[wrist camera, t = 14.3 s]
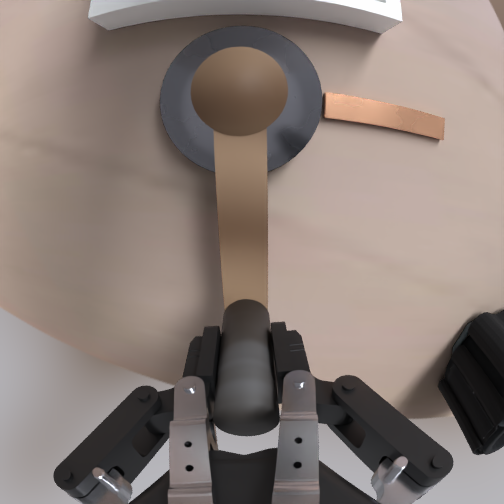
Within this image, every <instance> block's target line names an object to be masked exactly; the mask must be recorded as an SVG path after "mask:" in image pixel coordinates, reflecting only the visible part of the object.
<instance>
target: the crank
mask: <svg viewBox="0 0 504 504" xmlns="http://www.w3.org/2000/svg"><path fill="white" fill-rule="evenodd" d="M287 97H288V84H287V79H286V76H285V74H284V72H283V70H282V68H281V67H280V65H279V64H278V63H277V62H276V61H275V60H274V59H273V58H272V57H270V56H269V55H268V54H266V53H264V52H262V51H260V50H257V49H254V48H250V47H230V48H226V49H223V50H220V51H218V52H216V53H214V54H212V55H211V56H209V57H208V58H207V59H206V60H204V61H203V63H202V64H201V65H200V66H199V67H198V69H197V70H196V72H195V74H194V77H193V80H192V83H191V101H192V105H193V107H194V110H195V111H196V113H197V115H198V116H199V117H200V119H201V120H202V121H203V122H204V123H205V124H206V125H208V126H209V127H210V128H212V129H214V155H215V177H216V196H217V214H218V230H219V245H220V259H221V273H222V286H223V298H224V310H225V312H224V316H223V325H222V334H221V343H220V352H219V361H218V370H217V380H216V390H215V400H214V410H213V422H214V424H215V425H216V426H217V427H218V428H219V429H220V430H222V431H224V432H226V433H229V434H233V435H238V436H255V435H260V434H264V433H267V432H269V431H271V430H272V429H274V428H275V427H276V426H277V425H278V423H279V421H280V415H279V405H278V395H277V385H276V375H275V366H274V356H273V347H272V337H271V328H270V319H269V313H268V192H267V127H268V126H270V125H271V124H272V123H273V122H275V120H276V119H277V118H278V117H279V116H280V114H281V113H282V111H283V109H284V107H285V105H286V102H287Z"/></svg>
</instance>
